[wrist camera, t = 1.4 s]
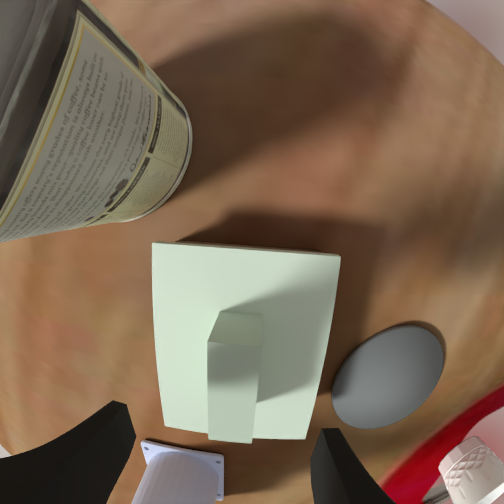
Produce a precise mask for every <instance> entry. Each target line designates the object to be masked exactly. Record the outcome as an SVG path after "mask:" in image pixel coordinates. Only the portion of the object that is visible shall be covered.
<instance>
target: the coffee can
mask: <svg viewBox="0 0 504 504" xmlns="http://www.w3.org/2000/svg"><path fill="white" fill-rule="evenodd" d="M192 141H193V139H192V126H191V122H190V118H189V115H188V113H187V110H186V108H185V106H184V105H183V103H182V101H180V100H179V98H178V97H177V96H176V95H175V94H173V93H172V92H171V91H170V90H169V89H168V87H167V86H166V85H165V84H164V83H163V82H162V81H161V79H160V78H159V77H158V76H157V75H156V74H155V72H154V71H153V70H152V69H151V68H150V67H149V65H148V64H147V63H146V62H145V61H144V60H143V59H142V58H141V56H140V55H139V54H138V53H137V52H136V51H135V50H134V49H133V47H132V46H131V45H130V44H129V43H128V42H127V41H126V40H125V38H124V37H123V36H122V35H121V34H120V33H119V32H118V31H117V30H116V29H115V28H114V26H113V25H112V24H111V23H110V22H109V21H108V20H107V19H106V18H105V17H104V16H103V15H102V14H101V12H100V11H99V10H98V9H97V8H96V7H95V6H94V5H93V4H92V3H91V2H90V1H89V0H0V243H2V242H6V241H11V240H16V239H21V238H26V237H31V236H36V235H41V234H46V233H52V232H57V231H63V230H70V229H75V228H81V227H86V226H93V225H99V224H105V223H111V222H127V221H132V220H136V219H139V218H141V217H143V216H146V215H148V214H150V213H151V212H153V211H154V210H156V209H158V208H159V207H160V206H161V205H162V204H163V203H164V202H165V201H166V200H167V199H168V198H169V197H170V196H171V195H172V194H173V192H174V191H175V190H176V188H177V187H178V185H179V184H180V182H181V180H182V178H183V176H184V174H185V172H186V169H187V166H188V163H189V159H190V156H191V153H192Z"/></svg>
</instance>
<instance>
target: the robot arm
mask: <svg viewBox="0 0 504 504" xmlns="http://www.w3.org/2000/svg"><path fill="white" fill-rule="evenodd" d="M135 439H136V434H135V431H134V428H133V425H132V422H131V418H130V415H129V412H128V408H127V404H124V403H120V402H117V401H111V402H110V403H108V404H107V405H106V406H104V407H103V408H101V409H100V410H99V411H97V412H96V413H95V414H93V415H92V416H90V417H89V418H87V419H86V420H85V421H83V422H82V423H80V424H79V425H77V426H76V427H74V428H73V429H71V430H70V431H68V432H66V433H65V434H63V435H61V436H59V437H58V438H56V439H54V440H52V441H50V442H48V443H46V444H44V445H42V446H40V447H37V448H35V449H32V450H30V451H27V452H24V453H20V454H17V455H14V456H10V457H5V458H0V504H106V503H107V500H108V498H109V496H110V494H111V492H112V490H113V488H114V486H115V484H116V482H117V480H118V478H119V476H120V474H121V472H122V470H123V469H124V467H125V465H126V463H127V461H128V459H129V457H130V454H131V451H132V448H133V445H134V442H135ZM141 446H142V450H143V453H144V456H145V460H146V463H147V468H146V470H145V473H144V475H143V477H142V480H141V482H140V484H139V487H138V489H137V491H136V494H135V496H134V498H133V501H132V503H131V504H215V502H216V500H223V499H224V456H223V455H221V454H216V453H209V452H202V451H196V450H190V449H184V448H179V447H174V446H169V445H164V444H160V443H156V442H151V441H147V440H142V442H141ZM311 484H312V491H313V498H314V504H396V503H395V502H394V501H393V500H392V499H391V498H390V497H389V496H388V495H387V494H386V493H385V492H384V491H383V490H382V489H381V488H380V487H379V485H378V484H377V483H376V482H375V481H374V479H373V478H372V477H371V476H370V474H369V473H368V472H367V470H366V469H365V468H364V466H363V465H362V464H361V462H360V461H359V459H358V458H357V457H356V455H355V454H354V452H353V451H352V449H351V447H350V446H349V444H348V443H347V441H346V439H345V438H344V436H343V434H342V433H341V431H340V429H338V428H326V429H321V432H320V435H319V438H318V440H317V443H316V446H315V449H314V451H313V454H312V456H311Z"/></svg>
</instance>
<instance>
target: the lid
mask: <svg viewBox="0 0 504 504" xmlns="http://www.w3.org/2000/svg"><path fill="white" fill-rule="evenodd" d="M340 260H341V256H339V255H338V254H330V253H316V252H303V251H290V250H276V249H262V248H249V247H235V246H221V245H207V244H193V243H179V242H164V241H156V242H153V243H152V293H153V318H154V335H155V348H156V360H157V370H158V379H159V388H160V396H161V403H162V410H163V417H164V424H165V426H168V427H173V428H178V429H184V430H189V431H195V432H202V433H208V437H209V439H211V440H219V441H228V442H238V443H251V444H252V438H263V439H305V438H306V434H307V430H308V427H309V423H310V419H311V416H312V412H313V408H314V404H315V400H316V396H317V391H318V387H319V383H320V378H321V374H322V369H323V364H324V359H325V355H326V350H327V344H328V339H329V334H330V328H331V322H332V316H333V310H334V304H335V297H336V291H337V284H338V276H339V269H340Z"/></svg>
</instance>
